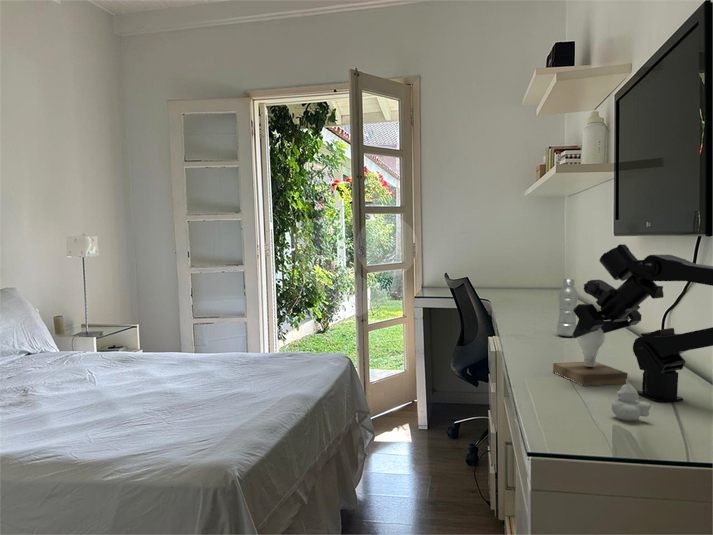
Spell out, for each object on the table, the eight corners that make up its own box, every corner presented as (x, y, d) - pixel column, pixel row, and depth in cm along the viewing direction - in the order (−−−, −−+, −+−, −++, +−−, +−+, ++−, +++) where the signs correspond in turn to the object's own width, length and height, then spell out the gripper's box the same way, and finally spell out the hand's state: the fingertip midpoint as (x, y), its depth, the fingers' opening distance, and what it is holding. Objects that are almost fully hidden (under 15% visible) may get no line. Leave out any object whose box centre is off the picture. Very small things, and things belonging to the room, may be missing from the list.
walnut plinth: (626, 383, 127) (627, 373, 127) (583, 386, 125) (583, 375, 125) (593, 370, 139) (594, 361, 139) (553, 372, 136) (553, 363, 136)
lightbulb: (574, 369, 130) (576, 324, 130) (576, 363, 136) (578, 321, 135) (603, 372, 127) (604, 327, 127) (604, 366, 133) (605, 323, 132)
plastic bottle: (552, 335, 187) (554, 279, 186) (566, 334, 190) (568, 278, 189) (566, 338, 182) (568, 280, 180) (581, 337, 184) (583, 280, 183)
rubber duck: (611, 413, 106) (612, 373, 105) (648, 418, 103) (650, 378, 102) (610, 421, 101) (612, 380, 100) (650, 427, 98) (652, 385, 98)
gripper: (632, 268, 131) (591, 307, 142) (582, 270, 122) (542, 311, 132) (662, 304, 125) (616, 341, 135) (611, 308, 116) (567, 348, 126)
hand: (585, 334), depth 132 cm, fingers open, 8 cm apart
